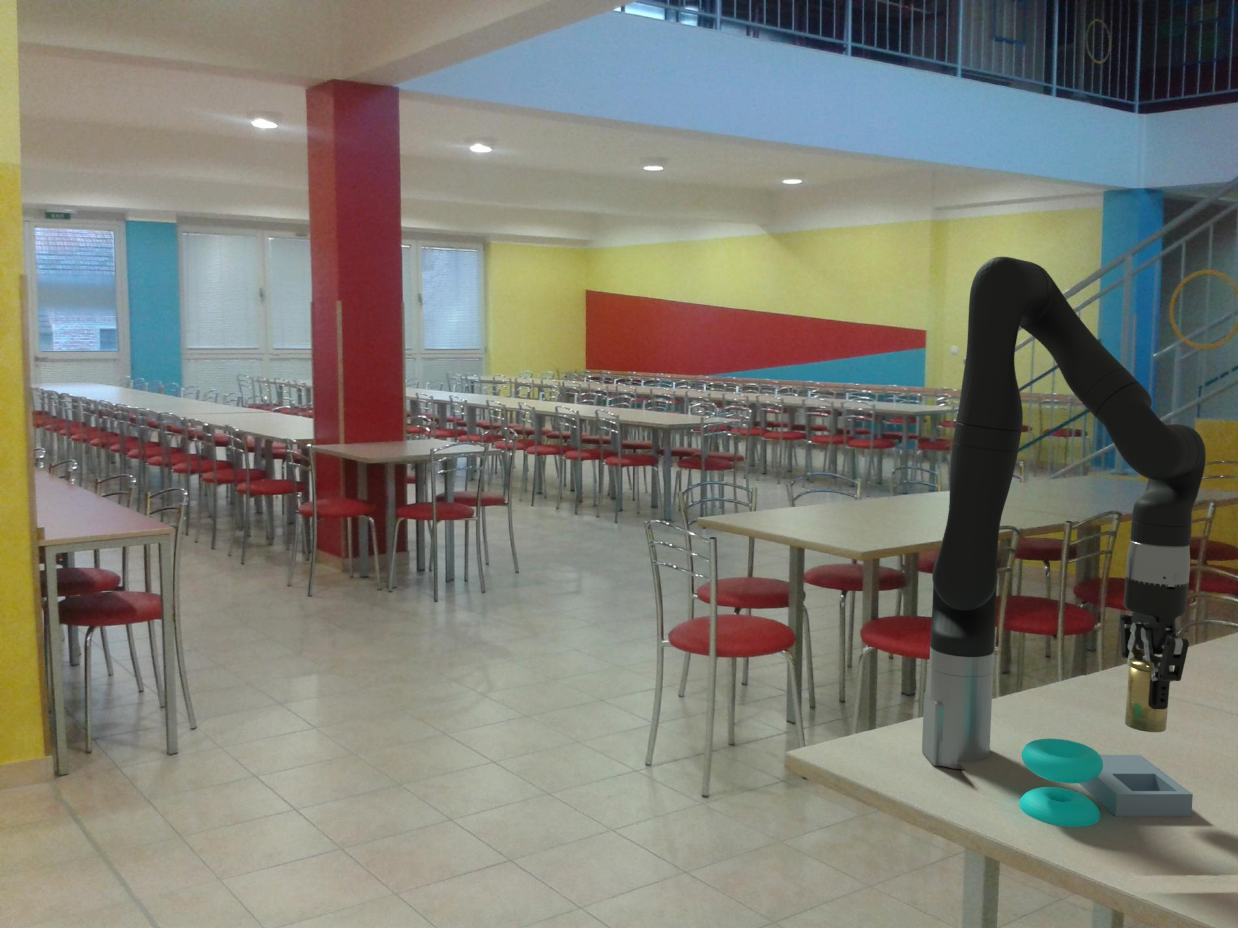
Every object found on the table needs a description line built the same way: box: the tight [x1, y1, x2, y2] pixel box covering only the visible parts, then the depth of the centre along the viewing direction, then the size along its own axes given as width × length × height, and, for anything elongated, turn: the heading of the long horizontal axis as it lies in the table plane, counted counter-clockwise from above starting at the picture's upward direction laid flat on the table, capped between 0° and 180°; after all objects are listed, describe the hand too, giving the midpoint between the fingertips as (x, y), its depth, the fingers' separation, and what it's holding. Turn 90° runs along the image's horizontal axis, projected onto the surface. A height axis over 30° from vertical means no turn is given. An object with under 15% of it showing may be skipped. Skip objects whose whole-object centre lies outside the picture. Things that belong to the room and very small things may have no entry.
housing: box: [1078, 754, 1194, 818], centre depth 152 cm, size 10×14×4 cm
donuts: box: [1018, 738, 1103, 828], centre depth 146 cm, size 10×10×10 cm
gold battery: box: [1124, 654, 1171, 733], centre depth 147 cm, size 5×5×10 cm
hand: (1147, 700), depth 147 cm, fingers closed on gold battery, 5 cm apart
